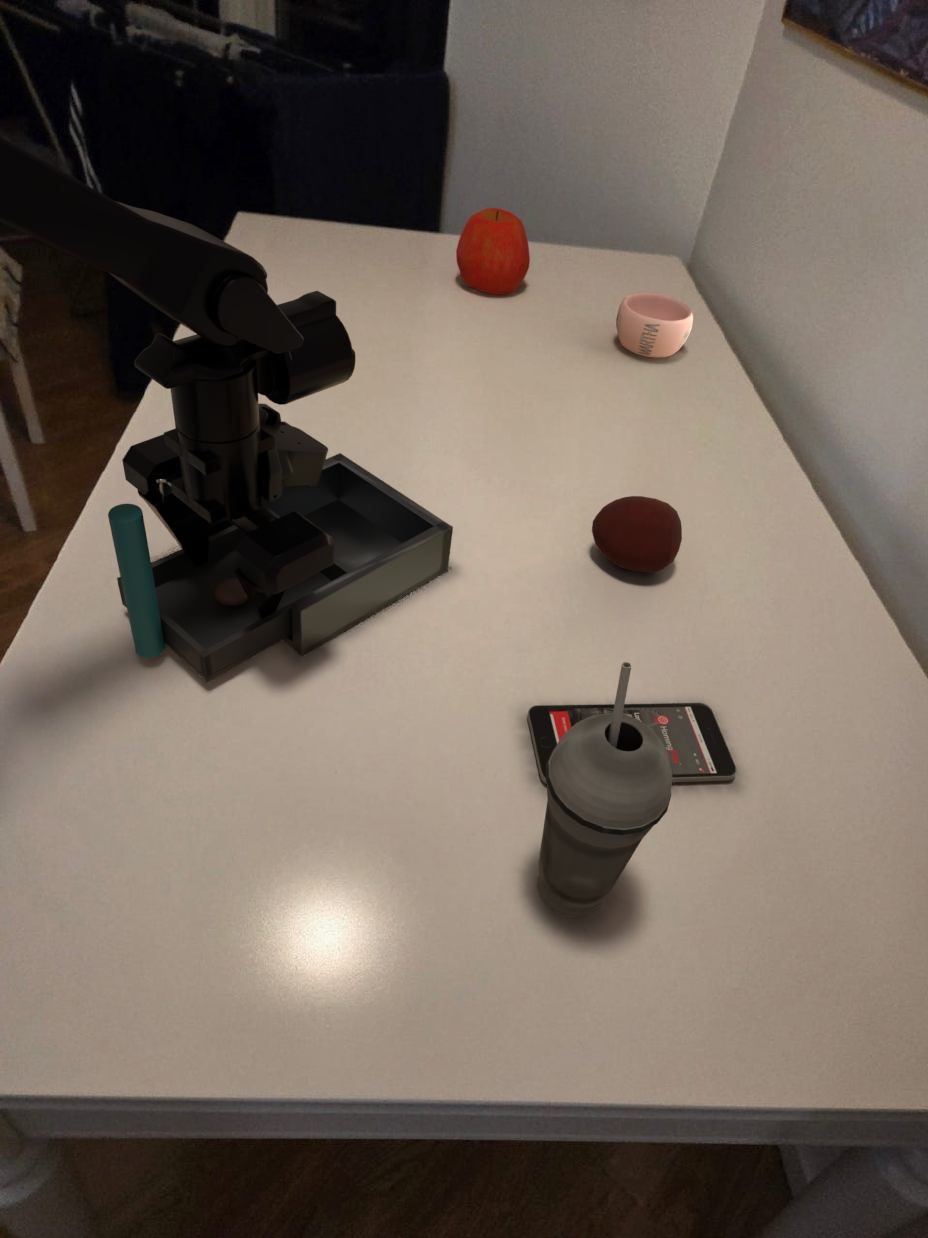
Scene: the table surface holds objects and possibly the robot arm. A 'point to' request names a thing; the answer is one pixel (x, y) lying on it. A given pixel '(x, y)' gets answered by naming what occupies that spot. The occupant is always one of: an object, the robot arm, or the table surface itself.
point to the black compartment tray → (197, 599)
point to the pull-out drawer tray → (360, 548)
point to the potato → (638, 533)
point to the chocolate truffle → (231, 593)
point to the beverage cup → (599, 805)
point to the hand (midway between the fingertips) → (233, 590)
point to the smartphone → (676, 724)
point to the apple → (493, 251)
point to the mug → (653, 324)
